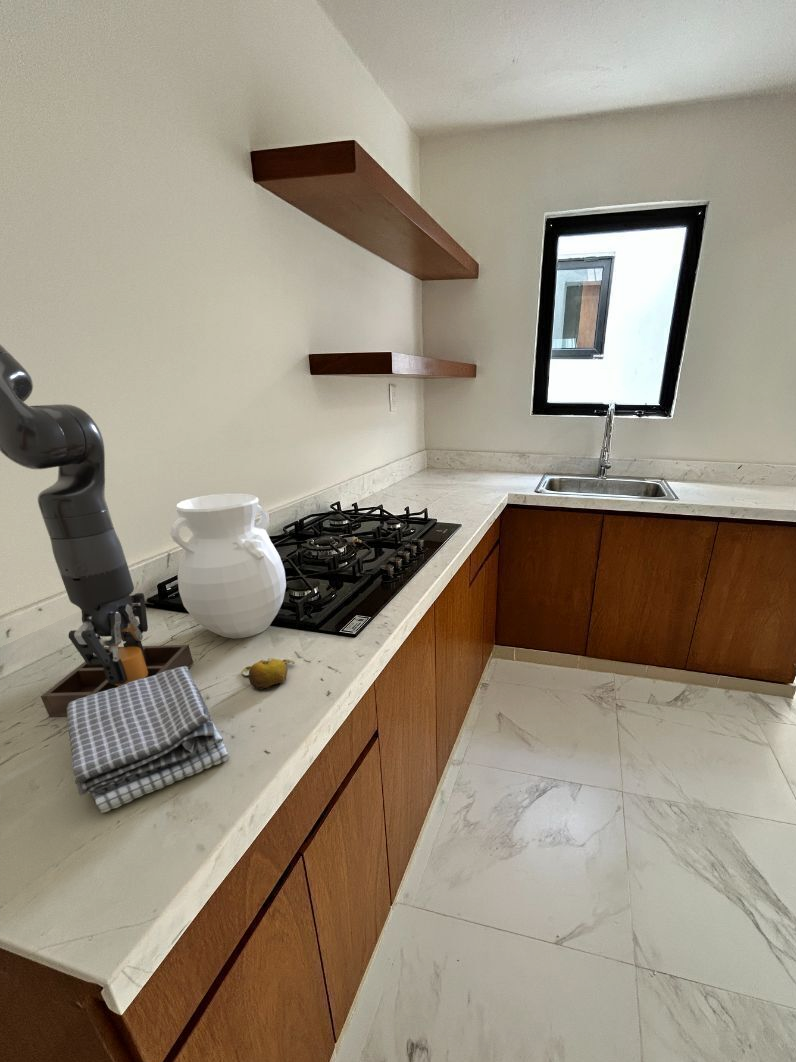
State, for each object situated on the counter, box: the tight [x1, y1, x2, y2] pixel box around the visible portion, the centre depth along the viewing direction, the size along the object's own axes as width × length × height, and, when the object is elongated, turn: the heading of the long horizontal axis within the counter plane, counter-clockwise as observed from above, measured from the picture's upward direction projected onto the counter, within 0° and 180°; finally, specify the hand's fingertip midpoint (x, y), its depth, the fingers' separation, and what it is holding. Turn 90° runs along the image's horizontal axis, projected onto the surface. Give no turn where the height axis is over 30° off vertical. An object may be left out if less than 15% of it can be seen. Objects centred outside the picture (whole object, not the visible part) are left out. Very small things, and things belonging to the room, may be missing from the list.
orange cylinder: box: [114, 646, 148, 686], centre depth 73 cm, size 5×5×4 cm
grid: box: [40, 644, 194, 718], centre depth 78 cm, size 14×14×4 cm
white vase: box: [170, 492, 287, 640], centre depth 93 cm, size 19×18×25 cm
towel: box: [66, 666, 230, 814], centre depth 63 cm, size 15×18×8 cm
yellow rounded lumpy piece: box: [241, 658, 295, 691], centre depth 80 cm, size 8×8×4 cm
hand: (128, 672), depth 74 cm, fingers closed on orange cylinder, 4 cm apart
